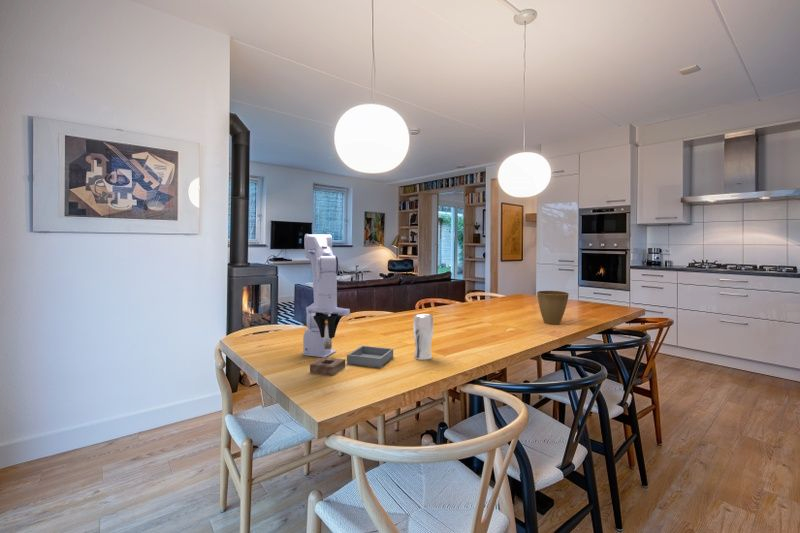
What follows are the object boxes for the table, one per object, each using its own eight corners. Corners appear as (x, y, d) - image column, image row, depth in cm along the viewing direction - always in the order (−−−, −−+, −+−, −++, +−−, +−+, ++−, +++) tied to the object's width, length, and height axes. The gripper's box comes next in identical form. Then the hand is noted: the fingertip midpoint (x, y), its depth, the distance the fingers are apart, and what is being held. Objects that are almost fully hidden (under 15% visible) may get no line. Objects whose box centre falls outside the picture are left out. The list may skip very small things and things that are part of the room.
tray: (346, 363, 119) (346, 354, 119) (362, 353, 131) (362, 345, 131) (380, 368, 115) (380, 358, 115) (393, 357, 127) (393, 348, 127)
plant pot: (532, 320, 193) (533, 290, 192) (561, 320, 191) (562, 290, 191) (540, 326, 178) (541, 293, 177) (572, 326, 177) (573, 294, 176)
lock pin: (322, 348, 113) (322, 320, 112) (326, 346, 115) (326, 318, 114) (329, 349, 112) (329, 320, 111) (333, 347, 114) (333, 319, 114)
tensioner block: (310, 372, 111) (309, 364, 111) (323, 364, 119) (323, 356, 119) (332, 375, 109) (332, 367, 109) (345, 367, 116) (345, 359, 116)
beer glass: (427, 362, 122) (427, 318, 121) (409, 358, 125) (409, 315, 124) (436, 356, 128) (436, 314, 127) (419, 353, 131) (419, 312, 130)
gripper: (300, 294, 111) (300, 338, 112) (342, 297, 106) (342, 342, 107) (312, 291, 118) (313, 333, 118) (352, 294, 113) (353, 336, 114)
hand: (327, 337), depth 113 cm, fingers closed on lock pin, 2 cm apart
